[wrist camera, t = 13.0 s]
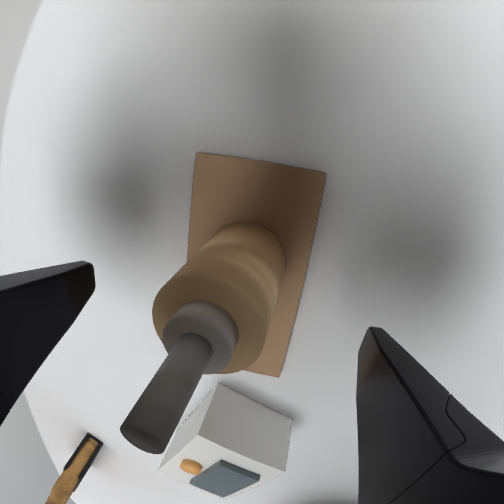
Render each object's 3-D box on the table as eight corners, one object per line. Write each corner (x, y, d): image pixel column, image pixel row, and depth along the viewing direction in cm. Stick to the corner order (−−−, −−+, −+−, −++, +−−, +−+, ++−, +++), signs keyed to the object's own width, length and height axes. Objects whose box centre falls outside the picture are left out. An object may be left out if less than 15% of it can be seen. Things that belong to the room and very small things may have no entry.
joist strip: (326, 172, 11) (326, 173, 11) (244, 485, 21) (244, 488, 20) (198, 152, 12) (195, 152, 11) (188, 470, 21) (187, 473, 21)
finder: (292, 417, 16) (284, 477, 12) (237, 457, 19) (224, 504, 15) (219, 380, 16) (194, 440, 12) (177, 428, 19) (155, 474, 15)
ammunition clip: (88, 432, 23) (30, 516, 12) (103, 442, 23) (49, 529, 12) (78, 456, 27) (37, 520, 16) (91, 465, 27) (50, 530, 16)
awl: (291, 230, 12) (234, 418, 4) (278, 301, 13) (221, 496, 5) (212, 215, 12) (51, 348, 4) (206, 285, 13) (91, 446, 5)
